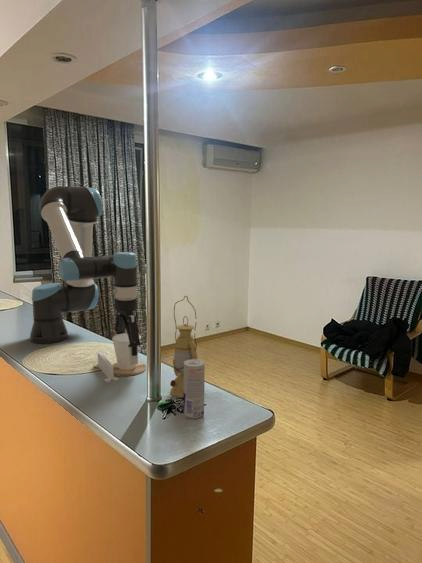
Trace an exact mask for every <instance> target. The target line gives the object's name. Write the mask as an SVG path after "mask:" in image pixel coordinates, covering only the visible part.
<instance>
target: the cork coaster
mask: <svg viewBox="0 0 422 563" xmlns="http://www.w3.org/2000/svg"><path fill="white" fill-rule="evenodd" d="M111 364H112V363H111ZM112 365H113V372H114V376H115V377H133V376H137V375H140V374H142V373H144V372H146V370H147V365H146V363H143V362H140V361H138V364H136V367H135V368H134V369H132V370H121V369H119V368H118V364H117V362H115V363H113V364H112Z"/></svg>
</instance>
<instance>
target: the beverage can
mask: <svg viewBox="0 0 422 563" xmlns="http://www.w3.org/2000/svg"><path fill="white" fill-rule="evenodd" d="M205 364H206V363H205V361H204V360H202V359H199V358H198V359H190V360H186V361H185V362H184V398H183V416H184V417H185V418H188V419H199V418H201V417H203V416H204V414H205V368H206V366H205Z"/></svg>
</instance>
